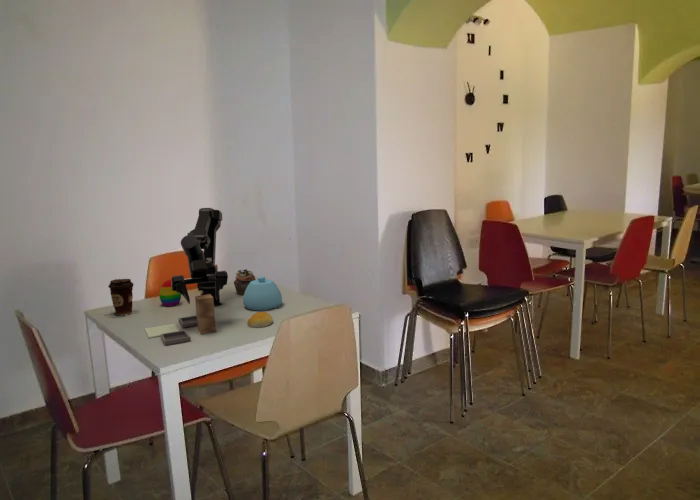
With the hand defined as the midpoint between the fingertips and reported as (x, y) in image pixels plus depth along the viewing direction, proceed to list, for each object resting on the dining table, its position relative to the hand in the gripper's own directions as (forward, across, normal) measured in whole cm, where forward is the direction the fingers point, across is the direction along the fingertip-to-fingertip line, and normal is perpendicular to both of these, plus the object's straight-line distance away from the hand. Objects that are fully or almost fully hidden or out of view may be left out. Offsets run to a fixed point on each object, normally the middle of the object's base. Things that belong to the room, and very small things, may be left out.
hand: (203, 301), depth 191 cm
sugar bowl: (-6, +24, +20) cm, 32 cm away
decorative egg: (-20, -8, +34) cm, 40 cm away
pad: (+4, -14, +10) cm, 17 cm away
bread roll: (+9, +18, +5) cm, 21 cm away
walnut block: (+9, 0, +5) cm, 10 cm away
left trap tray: (+12, -10, +2) cm, 16 cm away
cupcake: (-23, +22, +36) cm, 48 cm away
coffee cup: (-17, -26, +30) cm, 43 cm away
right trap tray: (+1, -4, +13) cm, 13 cm away
